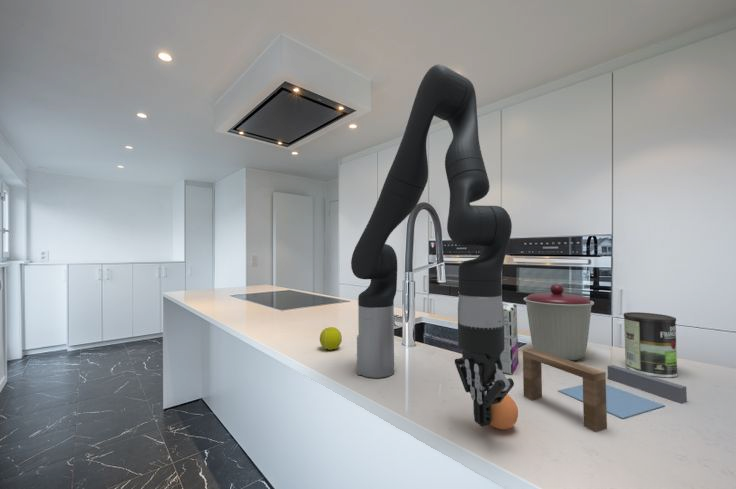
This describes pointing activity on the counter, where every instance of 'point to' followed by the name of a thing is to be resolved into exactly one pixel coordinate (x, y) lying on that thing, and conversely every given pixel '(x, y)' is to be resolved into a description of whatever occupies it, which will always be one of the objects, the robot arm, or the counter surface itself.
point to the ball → (504, 413)
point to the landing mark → (618, 401)
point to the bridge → (591, 377)
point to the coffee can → (650, 344)
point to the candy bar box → (510, 339)
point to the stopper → (648, 383)
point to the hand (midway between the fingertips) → (482, 423)
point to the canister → (559, 322)
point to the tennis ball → (330, 338)
